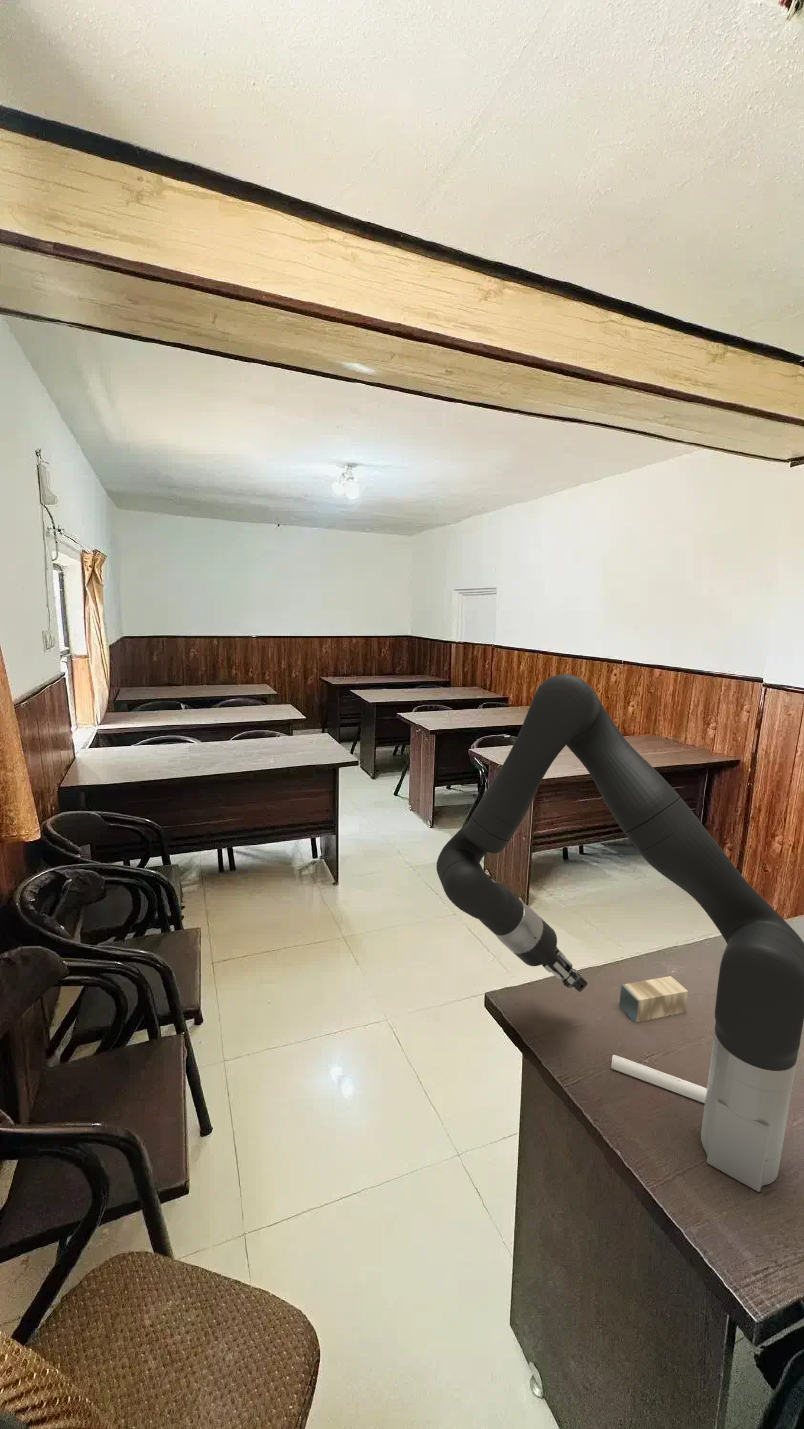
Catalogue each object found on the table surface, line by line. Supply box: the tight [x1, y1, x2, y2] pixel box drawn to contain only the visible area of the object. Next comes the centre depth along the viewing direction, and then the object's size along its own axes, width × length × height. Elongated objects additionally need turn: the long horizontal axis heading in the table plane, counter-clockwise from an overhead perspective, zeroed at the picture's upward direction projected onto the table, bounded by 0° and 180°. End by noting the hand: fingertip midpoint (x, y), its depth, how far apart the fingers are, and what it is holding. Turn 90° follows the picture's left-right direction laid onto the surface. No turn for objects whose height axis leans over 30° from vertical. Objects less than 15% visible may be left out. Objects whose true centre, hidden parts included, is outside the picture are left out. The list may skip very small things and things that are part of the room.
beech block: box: [618, 975, 689, 1023], centre depth 104 cm, size 4×4×11 cm
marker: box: [610, 1054, 707, 1104], centre depth 87 cm, size 18×2×2 cm, turn 61°
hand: (581, 985), depth 99 cm, fingers closed
